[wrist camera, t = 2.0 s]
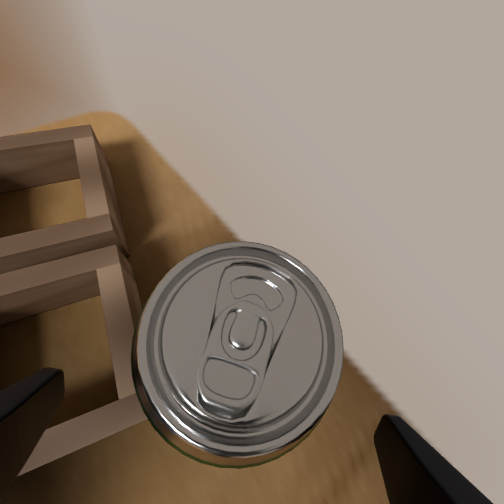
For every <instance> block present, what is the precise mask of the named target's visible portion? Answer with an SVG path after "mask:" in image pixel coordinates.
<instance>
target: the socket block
mask: <svg viewBox="0 0 504 504" xmlns="http://www.w3.org/2000/svg"><path fill="white" fill-rule="evenodd" d="M77 178H80V179H81V185H82V191H83V197H84V202H85V208H86V214H87V218H86V219H82V220H77V221H73V222H69V223H64V224H60V225H55V226H51V227H46V228H42V229H37V230H33V231H29V232H24V233H20V234H15V235H11V236H6V237H2V238H0V325H2V324H5V323H8V322H12V321H15V320H18V319H22V318H25V317H28V316H32V315H35V314H38V313H42V312H45V311H48V310H51V309H55V308H58V307H61V306H65V305H68V304H71V303H75V302H78V301H81V300H85V299H88V298H91V297H95V296H98V295H101V300H102V305H103V311H104V317H105V323H106V328H107V334H108V340H109V346H110V351H111V357H112V363H113V369H114V374H115V380H116V386H117V391H118V397H119V400H117V401H115V402H112V403H110V404H107V405H105V406H102V407H100V408H98V409H95V410H93V411H90V412H88V413H85V414H83V415H81V416H78V417H76V418H73V419H71V420H68V421H66V422H63V423H61V424H59V425H56V426H54V427H51V428H49V429H46V430H45V432H44V433H43V435H42V437H41V438H40V440H39V442H38V444H37V445H36V447H35V449H34V450H33V452H32V454H31V456H30V457H29V459H28V460H27V462H26V464H25V465H24V467H23V468H22V470H21V471H20V473H19V474H18V476H20V475H22V474H24V473H26V472H29V471H31V470H33V469H36V468H38V467H40V466H42V465H45V464H47V463H49V462H51V461H54V460H56V459H58V458H60V457H63V456H65V455H67V454H70V453H72V452H74V451H76V450H79V449H81V448H83V447H85V446H88V445H90V444H92V443H94V442H97V441H99V440H101V439H103V438H106V437H108V436H110V435H113V434H115V433H117V432H119V431H122V430H124V429H126V428H128V427H131V426H133V425H135V424H137V423H140V422H142V421H144V420H147V419H148V418H147V417H146V415H145V414H144V412H143V410H142V407H141V405H140V402H139V400H138V398H137V395H136V392H135V387H134V383H133V379H132V371H131V348H132V338H133V334H134V330H135V327H136V323H137V320H138V317H139V315H140V313H141V310H142V306H141V301H140V297H139V293H138V289H137V284H136V280H135V276H134V271H133V268H132V266H131V265H130V264H129V262H128V261H127V259H126V258H125V257H126V256H130V254H129V250H128V246H127V241H126V237H125V233H124V228H123V224H122V220H121V215H120V211H119V207H118V203H117V198H116V194H115V190H114V185H113V181H112V177H111V172H110V168H109V164H108V161H107V158H106V156H105V154H104V152H103V150H102V148H101V146H100V144H99V142H98V140H97V138H96V136H95V133H94V131H93V129H92V127H91V125H83V126H76V127H69V128H61V129H54V130H47V131H40V132H32V133H25V134H18V135H10V136H3V137H0V193H2V192H7V191H13V190H18V189H23V188H29V187H34V186H40V185H45V184H50V183H56V182H61V181H66V180H72V179H77Z"/></svg>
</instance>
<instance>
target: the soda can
mask: <svg viewBox="0 0 504 504" xmlns="http://www.w3.org/2000/svg"><path fill="white" fill-rule="evenodd" d="M342 365H343V337H342V330H341V326H340V321H339V317H338V314H337V312H336V309H335V306H334V304H333V302H332V300H331V298H330V296H329V294H328V293H327V291H326V289H325V288H324V287H323V285H322V284H321V282H320V281H319V280H318V278H317V277H316V276H315V275H314V274H313V273H312V272H311V271H310V270H309V269H308V268H307V267H306V266H305V265H303V264H302V263H301V262H300V261H298V260H297V259H296V258H294V257H292V256H290V255H289V254H287V253H285V252H283V251H281V250H278V249H276V248H274V247H271V246H267V245H264V244H260V243H253V242H245V241H244V242H226V243H220V244H216V245H212V246H209V247H206V248H203V249H201V250H199V251H197V252H195V253H193V254H191V255H189V256H188V257H186V258H185V259H183V260H182V261H180V262H179V263H178V264H176V265H175V266H174V267H173V268H172V269H171V270H170V271H169V272H167V274H166V275H165V276H164V277H163V278H162V280H161V281H160V282H159V283H158V284H157V286H156V287H155V289H154V290H153V291H152V292H151V294H150V296H149V297H148V299H147V301H146V302H145V304H144V306H143V308H142V310H141V313H140V315H139V317H138V320H137V323H136V327H135V330H134V334H133V338H132V348H131V371H132V379H133V383H134V387H135V392H136V395H137V398H138V400H139V402H140V405H141V407H142V410H143V412H144V414H145V415H146V417H147V418H148V420H149V422H150V423H151V425H152V426H153V428H154V429H155V430H156V431H157V432H158V433H159V435H160V436H161V437H162V438H163V439H164V440H165V441H166V442H167V443H168V444H169V445H171V446H172V447H173V448H175V449H176V450H178V451H179V452H180V453H182V454H183V455H185V456H187V457H189V458H191V459H194V460H196V461H198V462H200V463H203V464H207V465H211V466H215V467H219V468H238V469H240V468H247V467H253V466H259V465H262V464H265V463H267V462H270V461H273V460H276V459H278V458H280V457H281V456H283V455H285V454H286V453H288V452H290V451H291V450H293V449H294V448H295V447H297V446H298V445H299V444H300V443H301V442H302V441H303V440H305V439H306V438H307V437H308V436H309V435H310V433H311V432H312V431H313V430H314V428H315V427H316V426H317V425H318V424H319V422H320V421H321V419H322V417H323V415H324V414H325V412H326V410H327V408H328V407H329V404H330V402H331V401H332V399H333V396H334V394H335V391H336V388H337V386H338V383H339V379H340V375H341V370H342Z"/></svg>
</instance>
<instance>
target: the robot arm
mask: <svg viewBox="0 0 504 504" xmlns="http://www.w3.org/2000/svg"><path fill="white" fill-rule="evenodd" d="M64 394H65V387H64V373H63V371H62V370H61V369H56V368H49V367H48V368H43V369H41V370H39V371H37V372H35V373H33V374H31V375H30V376H28V377H26V378H24V379H22V380H20V381H18V382H16V383H14V384H12V385H10V386H8V387H6V388H5V389H3V390H1V391H0V500H1V499H2V497H3V496H4V495H5V493H6V492H7V490H8V489H9V487H10V486H11V485H12V483H13V482H14V480H15V479H16V477H17V476H18V474H19V473H20V471H21V470H22V468H23V467H24V465H25V464H26V462H27V460H28V459H29V457H30V456H31V454H32V452H33V450H34V449H35V447H36V445H37V444H38V442H39V440H40V438H41V437H42V435H43V433H44V432H45V430H46V428H47V426H48V425H49V423H50V421H51V420H52V418H53V416H54V414H55V413H56V411H57V409H58V408H59V406H60V404H61V402H62V400H63V398H64ZM374 444H375V448H376V452H377V456H378V460H379V464H380V468H381V472H382V476H383V480H384V483H385V487H386V491H387V495H388V499H389V503H390V504H493V503H492V502H491V501H490V500H489V499H488V498H487V497H486V496H485V495H483V494H482V493H481V492H480V491H479V490H478V489H477V488H476V487H475V486H474V485H473V484H472V483H471V482H469V481H468V480H467V479H466V478H465V477H464V476H463V475H462V474H461V473H460V472H459V471H458V470H457V469H455V468H454V467H453V466H452V465H451V464H450V463H449V462H448V461H447V460H446V459H445V458H444V457H443V456H441V455H440V454H439V453H438V452H437V451H436V450H435V449H434V448H433V447H432V446H431V445H430V444H429V443H427V442H426V441H425V440H424V439H423V438H422V437H421V436H420V435H419V434H418V433H417V432H416V431H415V430H414V429H412V428H411V427H410V426H409V425H408V424H407V423H406V422H405V421H404V420H403V419H402V418H400V417H399V416H395V415H388V414H385V415H383V416H382V418H381V420H380V422H379V424H378V426H377V429H376V431H375V433H374Z"/></svg>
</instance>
